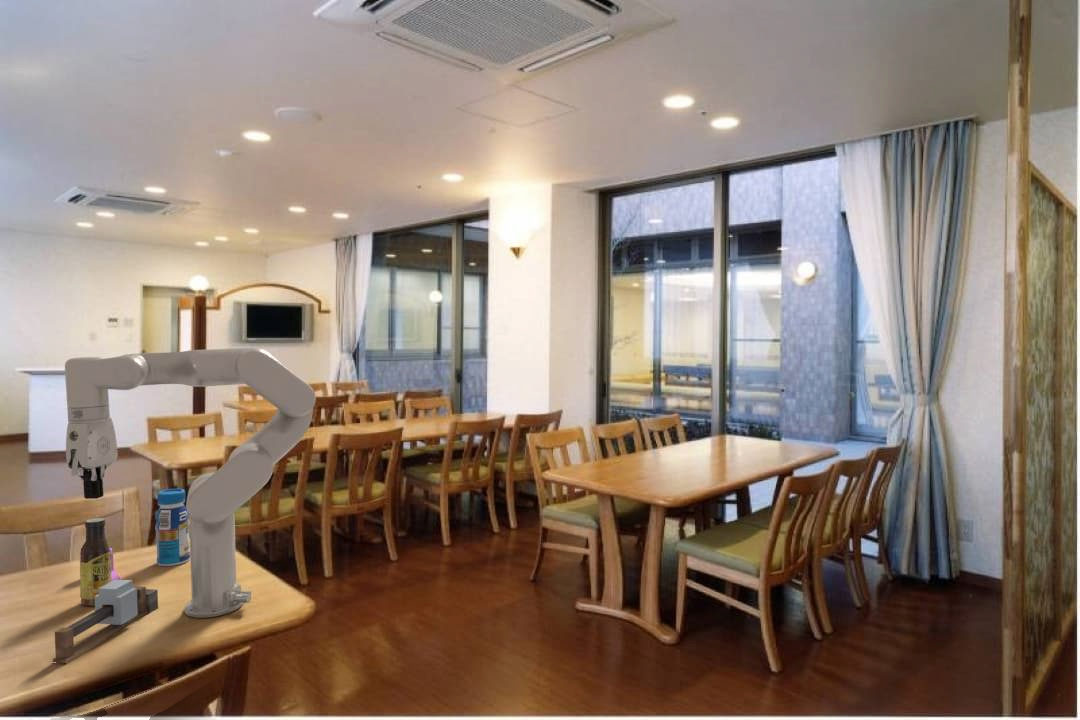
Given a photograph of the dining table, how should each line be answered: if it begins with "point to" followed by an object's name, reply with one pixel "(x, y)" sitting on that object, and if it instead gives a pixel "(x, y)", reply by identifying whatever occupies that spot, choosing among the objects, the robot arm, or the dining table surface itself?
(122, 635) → the dining table surface
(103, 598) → the notched grey cube
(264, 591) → the dining table surface
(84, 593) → the sauce bottle
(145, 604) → the stand
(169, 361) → the robot arm
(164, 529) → the beverage bottle
